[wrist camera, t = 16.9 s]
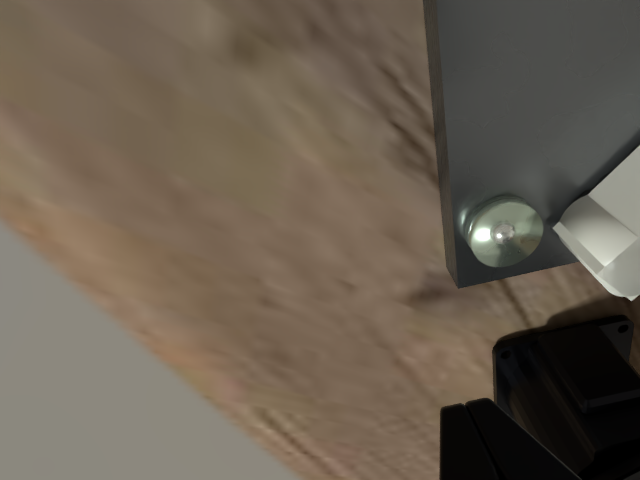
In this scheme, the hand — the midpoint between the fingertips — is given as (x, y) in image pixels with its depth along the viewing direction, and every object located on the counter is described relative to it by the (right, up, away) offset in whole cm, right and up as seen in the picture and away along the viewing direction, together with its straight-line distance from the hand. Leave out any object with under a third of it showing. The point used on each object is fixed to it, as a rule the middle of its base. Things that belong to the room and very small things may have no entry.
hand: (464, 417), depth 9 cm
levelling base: (+7, +13, +7) cm, 16 cm away
